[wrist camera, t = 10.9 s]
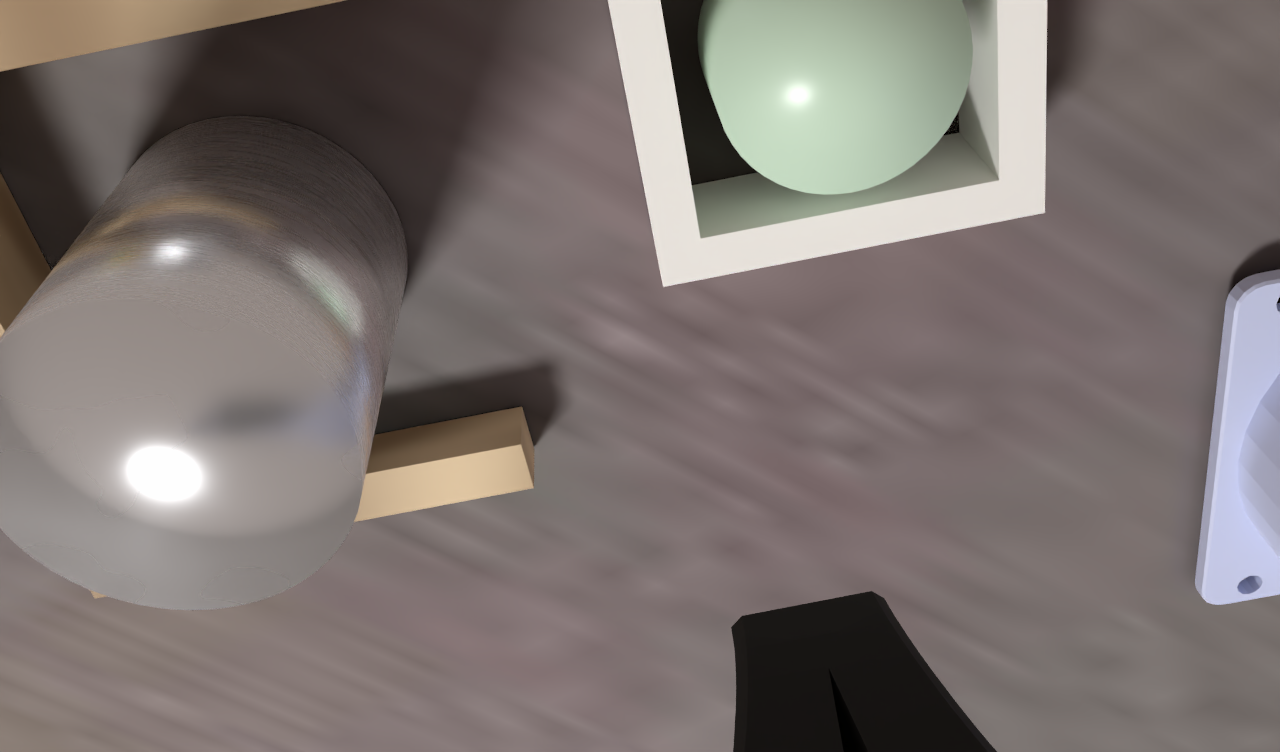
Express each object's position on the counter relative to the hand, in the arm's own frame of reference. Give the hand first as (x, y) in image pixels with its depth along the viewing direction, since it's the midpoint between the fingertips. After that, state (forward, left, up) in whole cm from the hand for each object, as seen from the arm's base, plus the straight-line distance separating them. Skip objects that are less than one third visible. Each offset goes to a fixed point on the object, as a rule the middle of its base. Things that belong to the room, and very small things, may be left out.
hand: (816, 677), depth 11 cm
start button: (-2, -3, -10) cm, 11 cm away
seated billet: (+7, -1, -10) cm, 13 cm away
